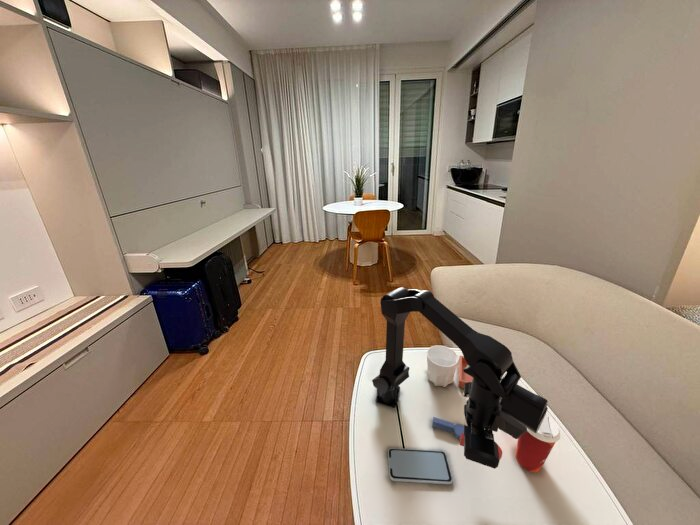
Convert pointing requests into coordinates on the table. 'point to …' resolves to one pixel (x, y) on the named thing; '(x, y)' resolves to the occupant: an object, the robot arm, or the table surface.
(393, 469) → the smartphone
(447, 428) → the blue spoon
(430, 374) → the cup
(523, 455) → the paper cup
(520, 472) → the table surface
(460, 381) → the terracotta tray
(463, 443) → the red spoon
